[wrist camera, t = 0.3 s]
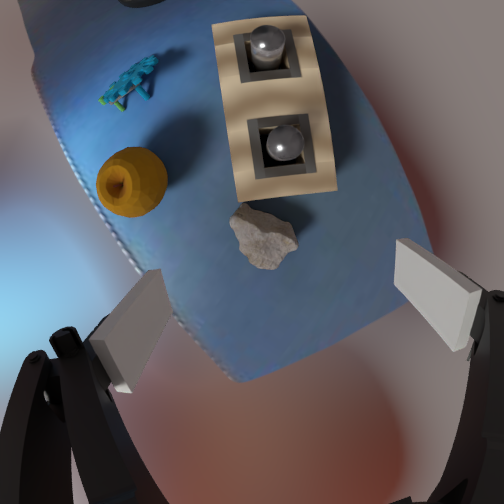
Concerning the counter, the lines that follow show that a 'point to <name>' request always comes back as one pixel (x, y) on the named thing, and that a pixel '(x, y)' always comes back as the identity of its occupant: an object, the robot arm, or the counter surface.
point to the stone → (262, 236)
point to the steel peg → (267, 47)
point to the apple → (132, 182)
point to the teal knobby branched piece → (129, 83)
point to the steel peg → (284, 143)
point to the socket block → (274, 110)
